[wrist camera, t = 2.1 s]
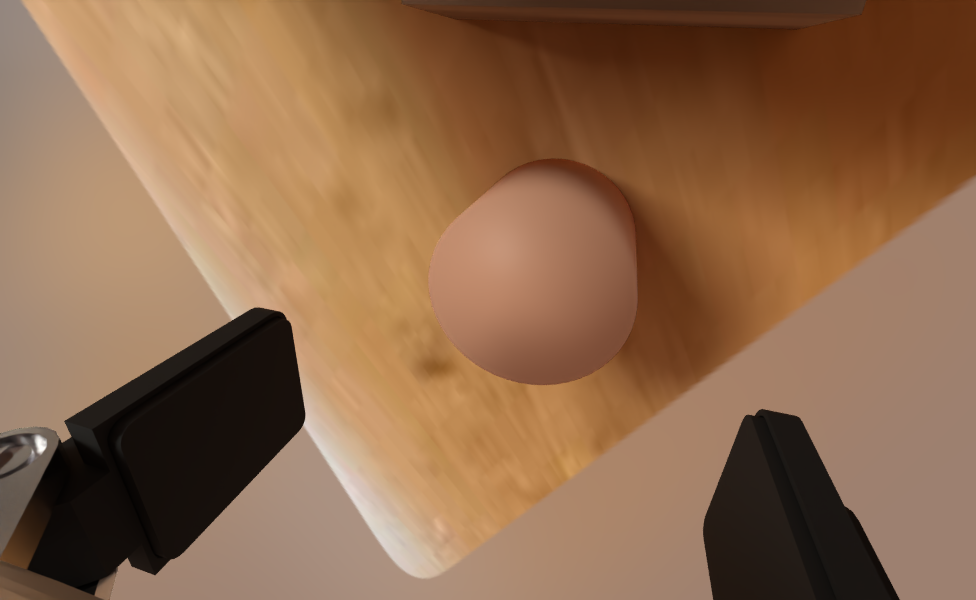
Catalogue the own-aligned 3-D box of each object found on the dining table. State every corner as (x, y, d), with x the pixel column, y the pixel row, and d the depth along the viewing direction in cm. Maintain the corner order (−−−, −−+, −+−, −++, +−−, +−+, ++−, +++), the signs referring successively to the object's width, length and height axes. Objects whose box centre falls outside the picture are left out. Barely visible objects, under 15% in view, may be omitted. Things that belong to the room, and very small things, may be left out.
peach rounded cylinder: (479, 151, 17) (426, 182, 12) (651, 167, 15) (660, 208, 11) (474, 297, 19) (430, 364, 15) (619, 322, 18) (616, 402, 14)
